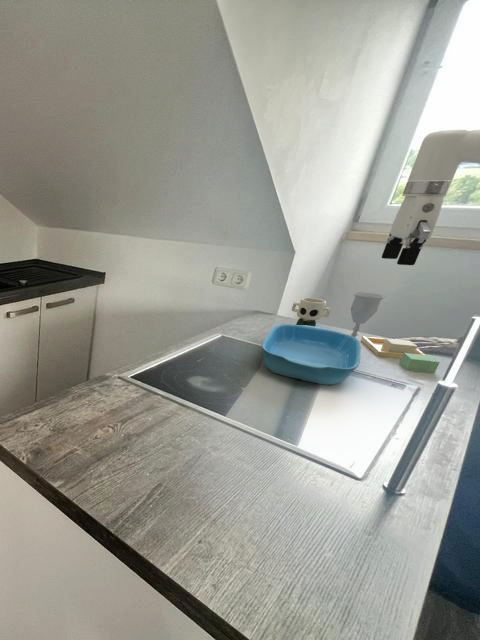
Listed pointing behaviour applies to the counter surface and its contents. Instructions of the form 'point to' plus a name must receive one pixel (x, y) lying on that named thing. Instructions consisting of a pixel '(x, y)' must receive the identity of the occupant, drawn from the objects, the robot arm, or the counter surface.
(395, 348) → the beige block
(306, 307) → the character mug
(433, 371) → the green block
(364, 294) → the chalice
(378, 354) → the backing tray
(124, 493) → the counter surface
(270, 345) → the casserole dish
